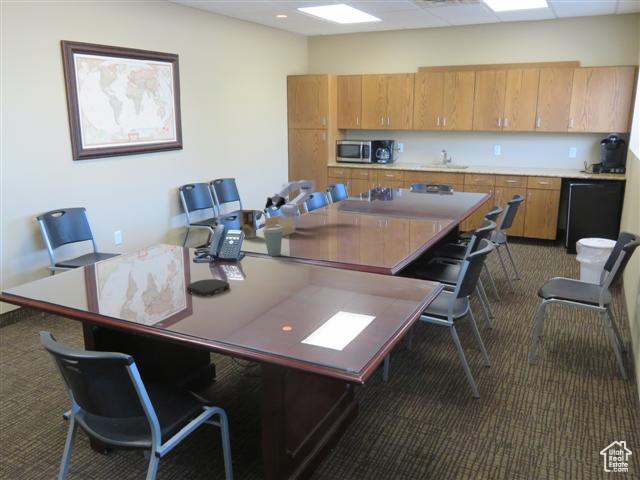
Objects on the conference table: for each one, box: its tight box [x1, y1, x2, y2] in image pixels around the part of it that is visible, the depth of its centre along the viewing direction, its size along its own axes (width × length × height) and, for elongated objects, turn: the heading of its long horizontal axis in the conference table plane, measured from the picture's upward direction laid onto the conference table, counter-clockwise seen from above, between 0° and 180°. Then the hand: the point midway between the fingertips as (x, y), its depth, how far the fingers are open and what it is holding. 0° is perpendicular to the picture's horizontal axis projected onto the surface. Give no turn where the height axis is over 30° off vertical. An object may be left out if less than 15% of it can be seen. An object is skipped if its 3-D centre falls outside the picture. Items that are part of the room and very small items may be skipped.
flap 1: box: [264, 214, 282, 227], centre depth 330 cm, size 15×1×6 cm, turn 147°
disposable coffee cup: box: [262, 224, 283, 257], centre depth 276 cm, size 11×11×15 cm
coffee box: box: [238, 209, 258, 239], centre depth 319 cm, size 9×6×16 cm
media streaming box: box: [186, 278, 230, 297], centre depth 221 cm, size 15×15×3 cm
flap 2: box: [277, 216, 294, 229], centre depth 324 cm, size 15×1×6 cm, turn 147°
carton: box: [282, 226, 296, 237], centre depth 328 cm, size 18×12×4 cm
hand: (271, 206), depth 324 cm, fingers open, 7 cm apart
